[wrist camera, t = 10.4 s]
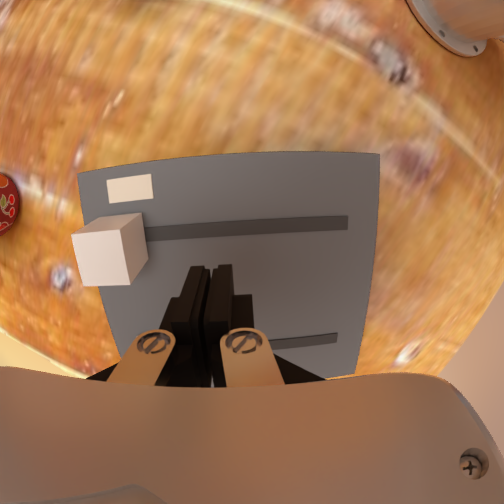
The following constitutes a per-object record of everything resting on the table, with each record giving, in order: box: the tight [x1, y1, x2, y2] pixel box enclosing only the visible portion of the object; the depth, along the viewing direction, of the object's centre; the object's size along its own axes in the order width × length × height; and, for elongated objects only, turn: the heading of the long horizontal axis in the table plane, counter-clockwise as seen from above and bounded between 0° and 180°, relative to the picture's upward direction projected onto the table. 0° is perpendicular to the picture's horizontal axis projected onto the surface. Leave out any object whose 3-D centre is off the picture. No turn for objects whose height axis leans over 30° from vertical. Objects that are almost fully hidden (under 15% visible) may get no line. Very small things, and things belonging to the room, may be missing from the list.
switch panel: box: [77, 151, 380, 388], centre depth 26 cm, size 26×24×2 cm
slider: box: [71, 213, 149, 286], centre depth 21 cm, size 4×4×5 cm
